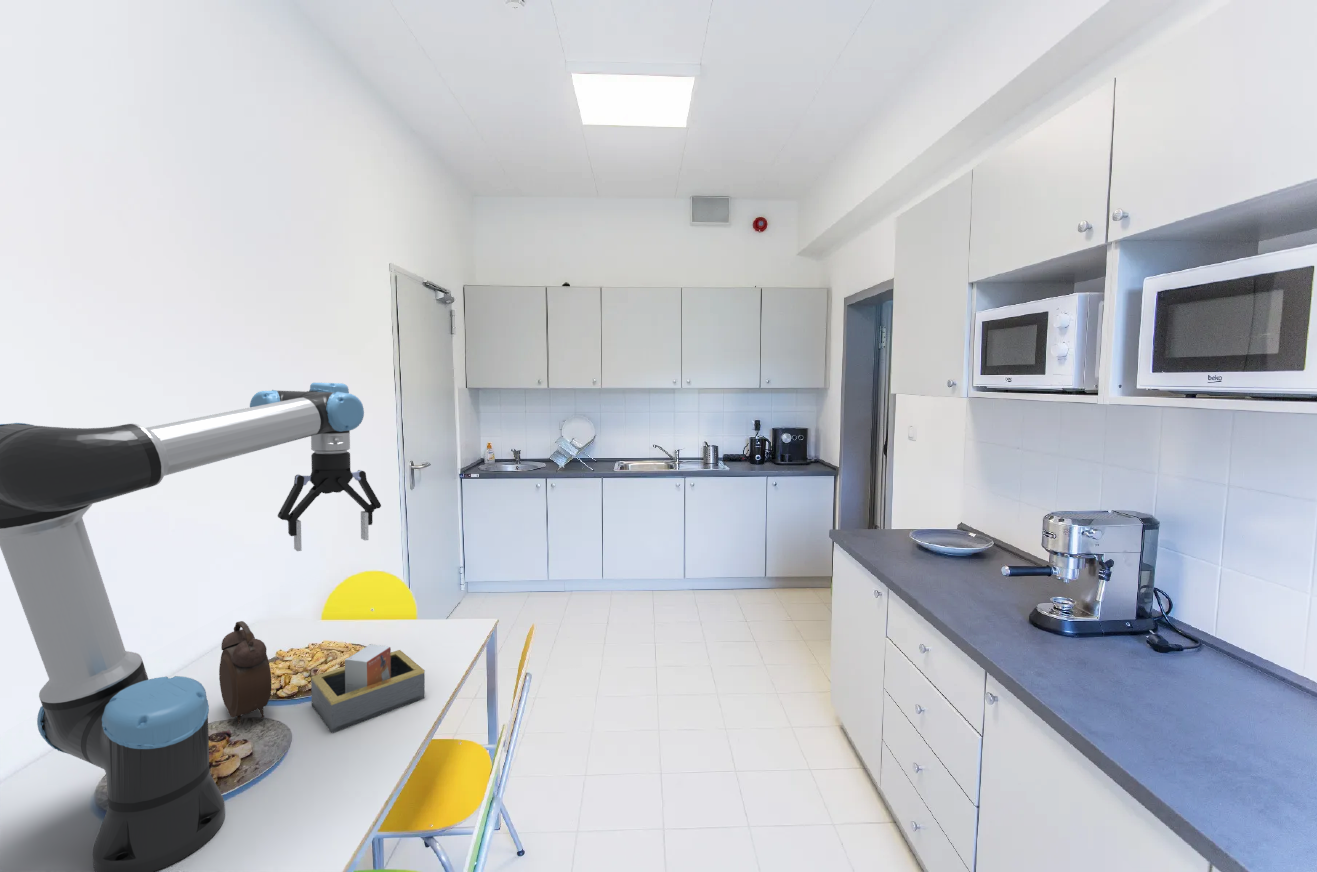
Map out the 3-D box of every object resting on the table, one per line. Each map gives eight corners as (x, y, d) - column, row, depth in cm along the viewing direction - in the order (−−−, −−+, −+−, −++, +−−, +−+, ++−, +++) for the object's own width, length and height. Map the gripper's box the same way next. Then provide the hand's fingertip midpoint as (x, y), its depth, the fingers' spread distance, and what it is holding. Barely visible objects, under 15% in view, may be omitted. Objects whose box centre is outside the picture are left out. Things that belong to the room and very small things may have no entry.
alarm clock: (278, 719, 116) (276, 627, 115) (236, 735, 111) (233, 638, 109) (257, 694, 126) (255, 609, 124) (217, 707, 120) (214, 618, 119)
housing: (331, 733, 112) (331, 702, 112) (311, 705, 122) (311, 676, 121) (424, 698, 126) (424, 670, 125) (400, 675, 135) (399, 649, 135)
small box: (366, 709, 119) (366, 662, 118) (344, 705, 120) (343, 659, 119) (391, 690, 127) (391, 646, 126) (370, 687, 128) (370, 643, 127)
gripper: (268, 456, 112) (270, 558, 114) (395, 450, 130) (395, 538, 132) (259, 453, 117) (262, 550, 119) (383, 447, 135) (383, 532, 137)
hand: (332, 544), depth 125 cm, fingers open, 13 cm apart
